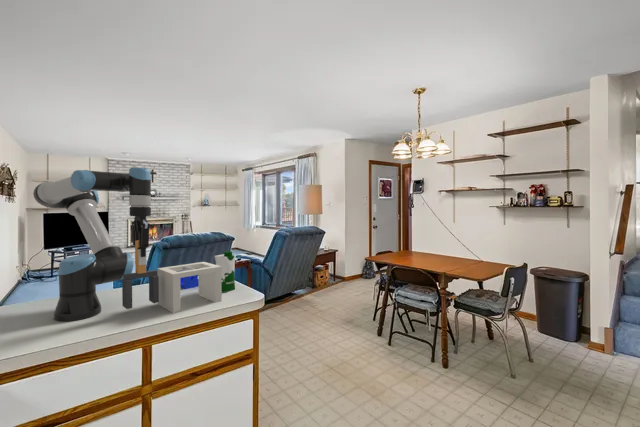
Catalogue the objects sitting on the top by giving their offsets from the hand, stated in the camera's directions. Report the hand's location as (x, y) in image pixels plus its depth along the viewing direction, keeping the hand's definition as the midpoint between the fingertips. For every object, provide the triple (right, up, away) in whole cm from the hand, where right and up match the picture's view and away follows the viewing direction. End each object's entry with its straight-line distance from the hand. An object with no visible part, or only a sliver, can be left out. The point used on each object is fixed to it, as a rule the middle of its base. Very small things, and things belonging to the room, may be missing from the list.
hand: (140, 263), depth 131 cm
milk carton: (+24, -19, +36) cm, 47 cm away
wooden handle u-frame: (0, -17, +1) cm, 17 cm away
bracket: (+6, -19, +46) cm, 50 cm away
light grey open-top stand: (+14, -20, +15) cm, 28 cm away
